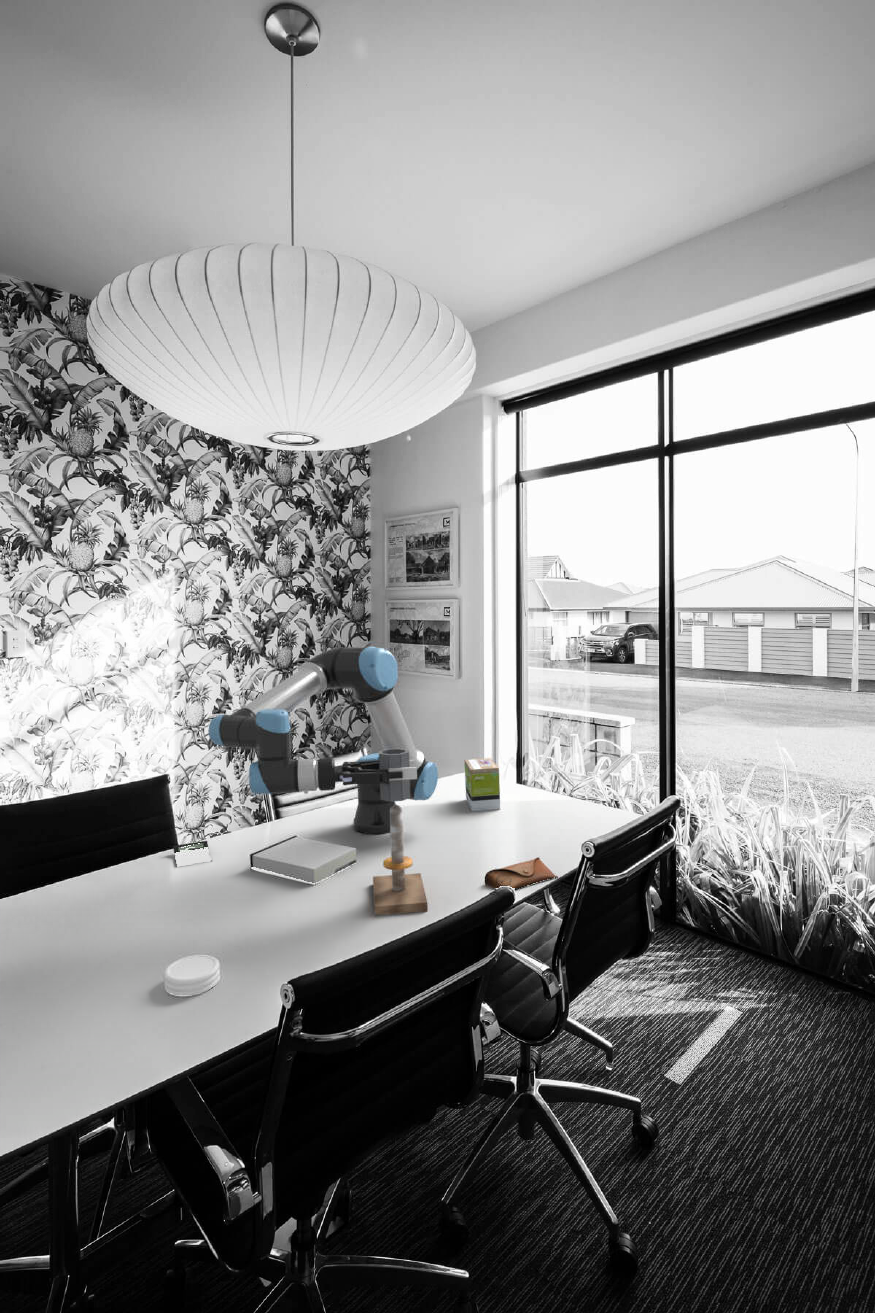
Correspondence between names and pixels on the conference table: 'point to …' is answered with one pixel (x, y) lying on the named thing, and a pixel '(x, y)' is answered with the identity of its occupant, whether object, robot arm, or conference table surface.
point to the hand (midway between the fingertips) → (415, 769)
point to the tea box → (482, 784)
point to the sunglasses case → (519, 874)
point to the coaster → (192, 975)
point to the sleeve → (395, 788)
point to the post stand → (398, 876)
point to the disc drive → (304, 858)
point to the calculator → (196, 845)
